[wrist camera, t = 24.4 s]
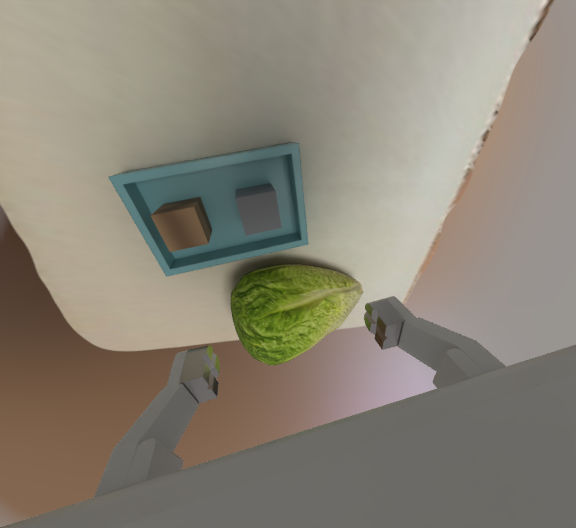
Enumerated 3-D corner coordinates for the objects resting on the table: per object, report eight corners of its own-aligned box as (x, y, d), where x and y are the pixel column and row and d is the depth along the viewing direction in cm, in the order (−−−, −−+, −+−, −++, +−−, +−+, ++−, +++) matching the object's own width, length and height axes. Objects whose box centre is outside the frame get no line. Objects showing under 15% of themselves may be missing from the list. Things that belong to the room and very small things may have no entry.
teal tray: (291, 142, 28) (298, 143, 25) (302, 234, 36) (308, 244, 33) (124, 171, 26) (108, 176, 23) (173, 262, 34) (166, 276, 31)
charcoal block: (270, 183, 30) (275, 190, 25) (276, 216, 32) (281, 227, 28) (235, 189, 29) (235, 198, 25) (244, 222, 32) (245, 235, 28)
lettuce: (335, 235, 43) (319, 289, 53) (218, 264, 32) (225, 325, 41) (395, 279, 34) (362, 334, 44) (260, 342, 22) (257, 398, 32)
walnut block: (200, 196, 29) (193, 206, 24) (212, 229, 31) (208, 243, 27) (163, 203, 28) (150, 215, 24) (179, 236, 31) (169, 252, 27)
